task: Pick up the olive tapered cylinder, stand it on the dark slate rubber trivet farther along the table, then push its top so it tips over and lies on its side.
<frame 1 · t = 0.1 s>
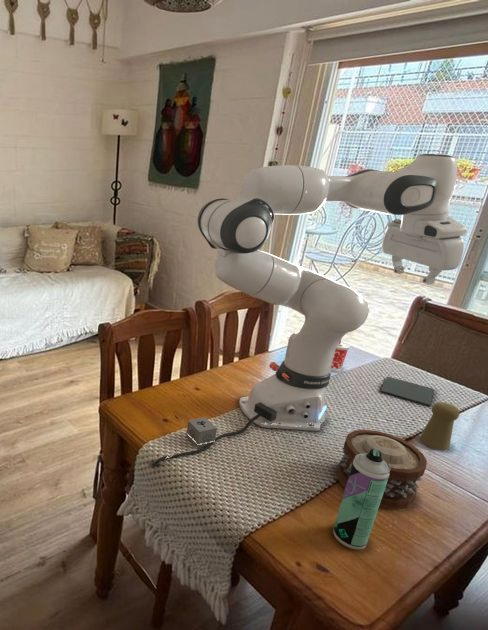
hand: (412, 278, 112), 39 cm above the table, tool pointing down, fingers open, 8 cm apart
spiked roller: (374, 485, 97), on the table
beverage cup: (333, 368, 148), on the table
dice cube: (200, 441, 112), on the table
olive tapered cylinder: (433, 443, 111), on the table
trivet: (406, 391, 134), on the table
spray can: (349, 538, 84), on the table
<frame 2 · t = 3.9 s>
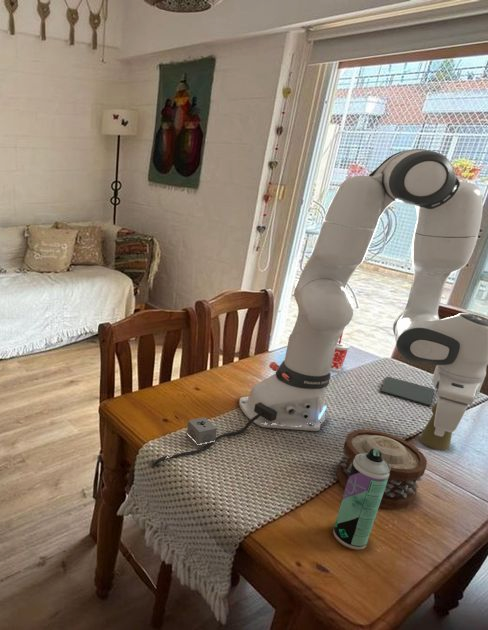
hand: (439, 428, 110), 4 cm above the table, tool pointing down, fingers closed on olive tapered cylinder, 4 cm apart
olive tapered cylinder: (433, 443, 111), on the table, touching gripper
everything else where it was.
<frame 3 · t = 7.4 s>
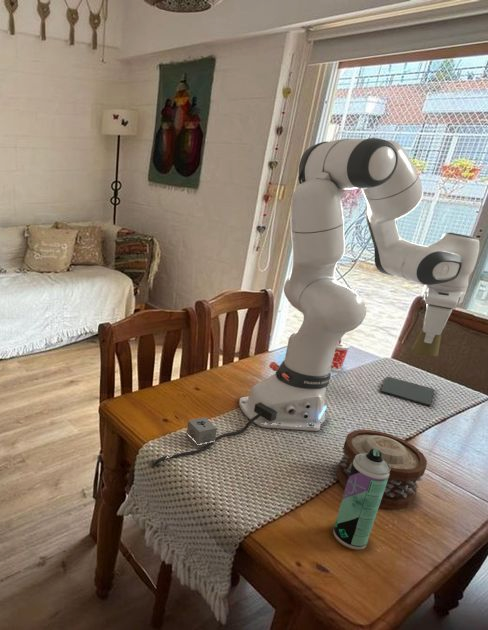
hand: (428, 339, 125), 19 cm above the table, tool pointing down, fingers closed on olive tapered cylinder, 4 cm apart
olive tapered cylinder: (424, 352, 126), point 15 cm above the table, touching gripper
everything else where it was.
when the fingers open (5 cm above the table, at t = 11.3 s): olive tapered cylinder stays where it is, resting on trivet.
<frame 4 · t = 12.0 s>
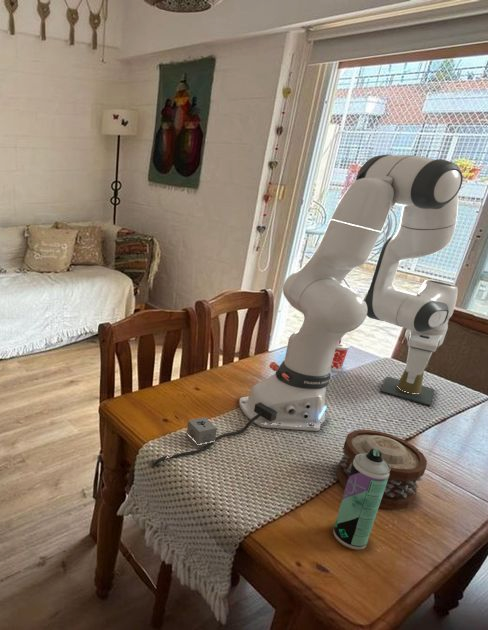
hand: (411, 376, 132), 5 cm above the table, tool pointing down, fingers open, 8 cm apart
olive tapered cylinder: (408, 390, 134), resting on trivet
everything else where it was.
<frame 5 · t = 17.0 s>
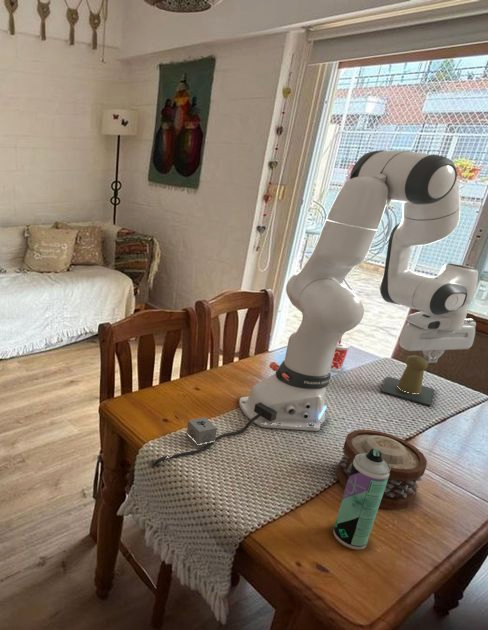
hand: (429, 362, 131), 10 cm above the table, tool pointing down, fingers closed
olive tapered cylinder: (408, 390, 134), resting on trivet, touching gripper
everything else where it was.
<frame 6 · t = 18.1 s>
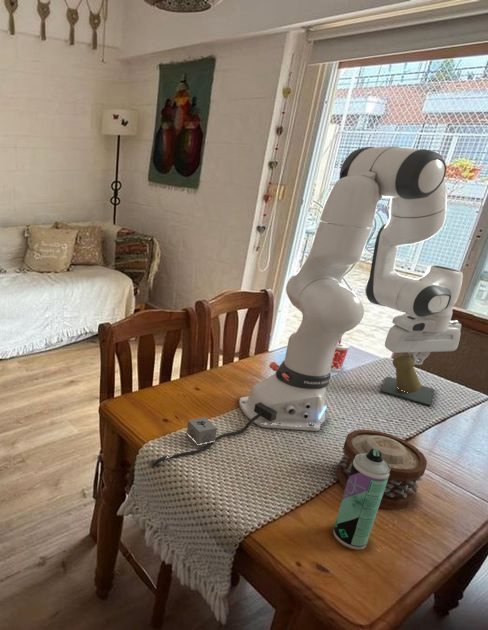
hand: (415, 363, 131), 9 cm above the table, tool pointing down, fingers closed
olive tapered cylinder: (408, 386, 133), point 2 cm above the table, touching gripper, trivet
everything else where it was.
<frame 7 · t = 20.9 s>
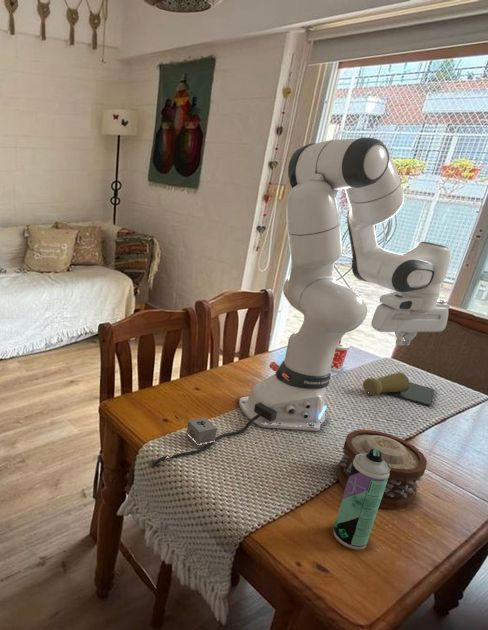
hand: (401, 344, 128), 16 cm above the table, tool pointing down, fingers closed
olive tapered cylinder: (401, 381, 132), point 4 cm above the table, touching trivet
everything else where it was.
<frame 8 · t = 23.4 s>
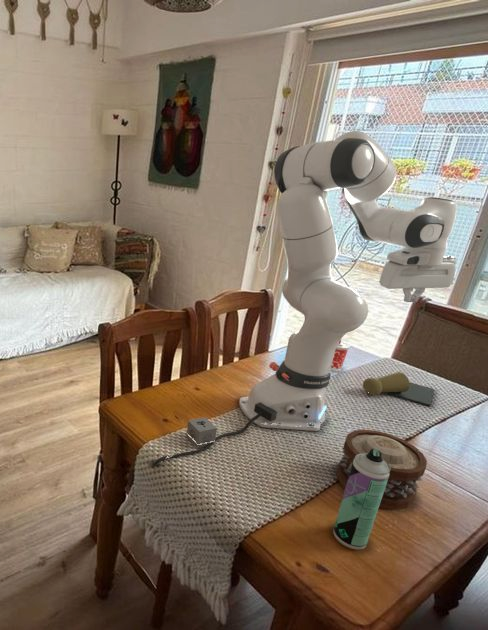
hand: (410, 301, 130), 27 cm above the table, tool pointing down, fingers closed
nothing on the table moved.
at the end: olive tapered cylinder tilted 96°; olive tapered cylinder inside the target area on the trivet (2.0 cm from its centre), point 3.6 cm above the trivet's base; olive tapered cylinder moved 26.0 cm from its start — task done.
